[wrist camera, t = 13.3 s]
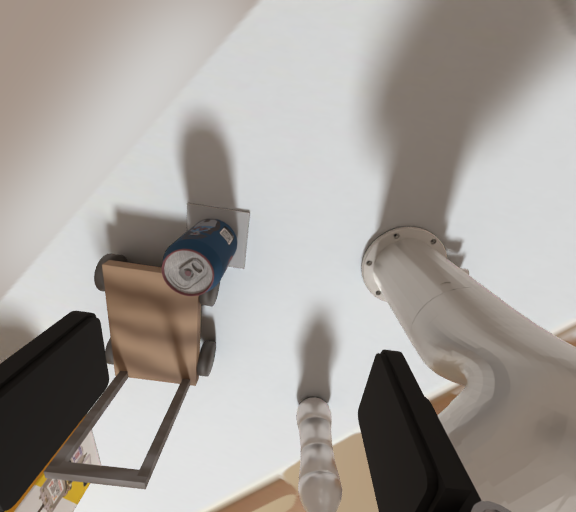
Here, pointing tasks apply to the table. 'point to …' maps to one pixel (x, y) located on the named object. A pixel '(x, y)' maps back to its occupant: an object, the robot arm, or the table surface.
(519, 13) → the table surface
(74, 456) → the packaging box
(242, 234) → the mat
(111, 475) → the trolley
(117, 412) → the table surface
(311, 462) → the plastic bottle
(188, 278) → the soda can
